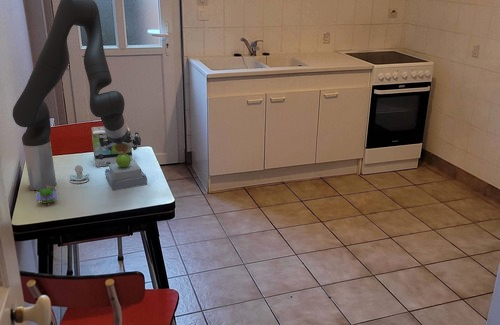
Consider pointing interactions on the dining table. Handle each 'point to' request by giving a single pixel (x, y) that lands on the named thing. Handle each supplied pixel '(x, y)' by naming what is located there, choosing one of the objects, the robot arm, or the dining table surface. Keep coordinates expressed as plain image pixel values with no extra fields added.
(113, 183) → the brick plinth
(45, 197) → the geometric puzzle
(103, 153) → the tea box
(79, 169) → the pacifier
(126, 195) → the dining table surface
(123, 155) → the snail figurine
